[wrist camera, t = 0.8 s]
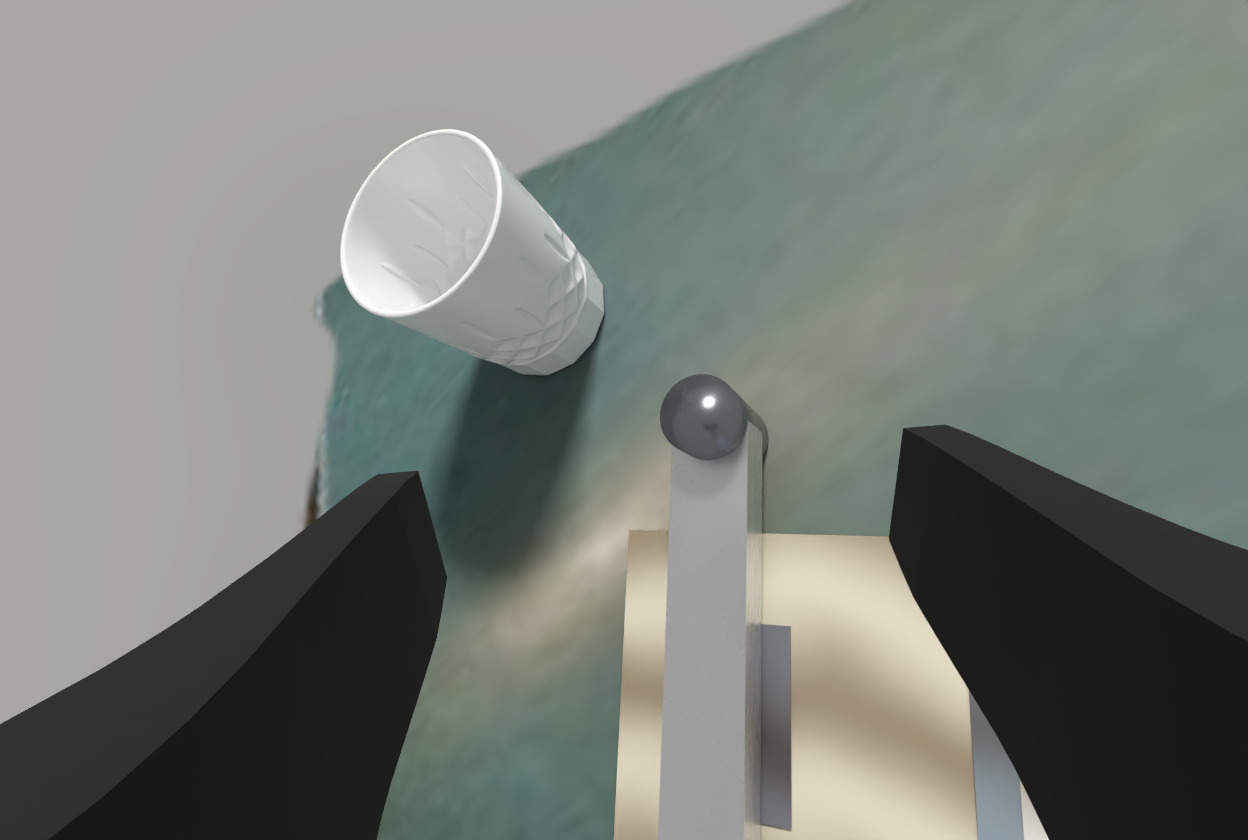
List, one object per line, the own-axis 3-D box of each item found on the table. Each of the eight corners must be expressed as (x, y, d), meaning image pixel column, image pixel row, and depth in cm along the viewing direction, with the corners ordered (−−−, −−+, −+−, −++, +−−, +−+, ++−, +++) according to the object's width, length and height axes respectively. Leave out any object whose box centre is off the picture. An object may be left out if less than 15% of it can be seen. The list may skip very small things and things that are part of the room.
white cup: (485, 265, 37) (345, 164, 28) (612, 227, 34) (500, 100, 25) (485, 399, 35) (333, 336, 26) (620, 372, 32) (501, 289, 23)
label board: (1274, 1061, 18) (1286, 1078, 18) (617, 884, 26) (609, 891, 26) (1201, 545, 21) (1210, 544, 21) (634, 531, 30) (627, 529, 29)
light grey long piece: (769, 958, 24) (733, 1041, 19) (684, 934, 25) (632, 1006, 21) (770, 404, 28) (741, 371, 24) (699, 408, 30) (659, 377, 25)
